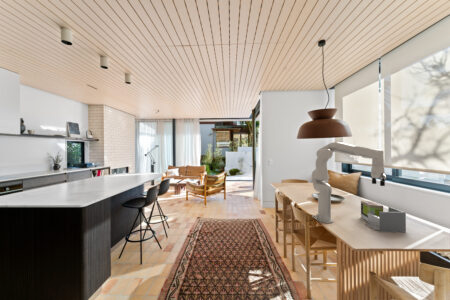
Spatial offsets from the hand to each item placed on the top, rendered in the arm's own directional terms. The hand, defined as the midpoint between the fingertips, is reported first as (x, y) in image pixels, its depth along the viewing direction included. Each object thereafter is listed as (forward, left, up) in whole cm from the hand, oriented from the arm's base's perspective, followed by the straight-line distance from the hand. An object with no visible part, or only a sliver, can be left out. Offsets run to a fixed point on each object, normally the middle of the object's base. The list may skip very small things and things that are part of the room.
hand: (378, 184), depth 160 cm
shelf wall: (-6, -15, -30) cm, 34 cm away
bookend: (-15, -15, -30) cm, 36 cm away
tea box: (-6, 0, -30) cm, 31 cm away
